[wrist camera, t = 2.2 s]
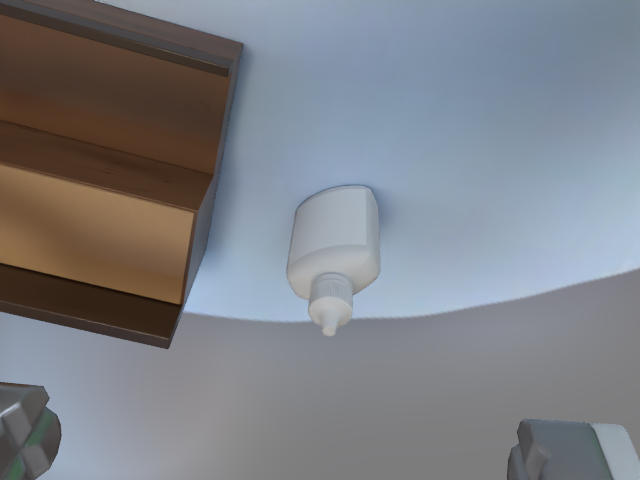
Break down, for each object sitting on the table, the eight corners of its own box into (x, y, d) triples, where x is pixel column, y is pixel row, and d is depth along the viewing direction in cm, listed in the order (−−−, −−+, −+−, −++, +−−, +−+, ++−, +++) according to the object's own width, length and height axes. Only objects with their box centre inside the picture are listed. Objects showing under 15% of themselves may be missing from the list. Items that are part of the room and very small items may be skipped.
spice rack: (-20, -33, 31) (-154, 15, 23) (243, 43, 33) (204, 112, 25) (2, 200, 40) (-88, 292, 32) (205, 250, 42) (168, 350, 34)
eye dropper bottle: (300, 174, 38) (279, 293, 28) (382, 186, 38) (390, 308, 28) (294, 227, 40) (272, 352, 30) (371, 237, 40) (374, 366, 31)
